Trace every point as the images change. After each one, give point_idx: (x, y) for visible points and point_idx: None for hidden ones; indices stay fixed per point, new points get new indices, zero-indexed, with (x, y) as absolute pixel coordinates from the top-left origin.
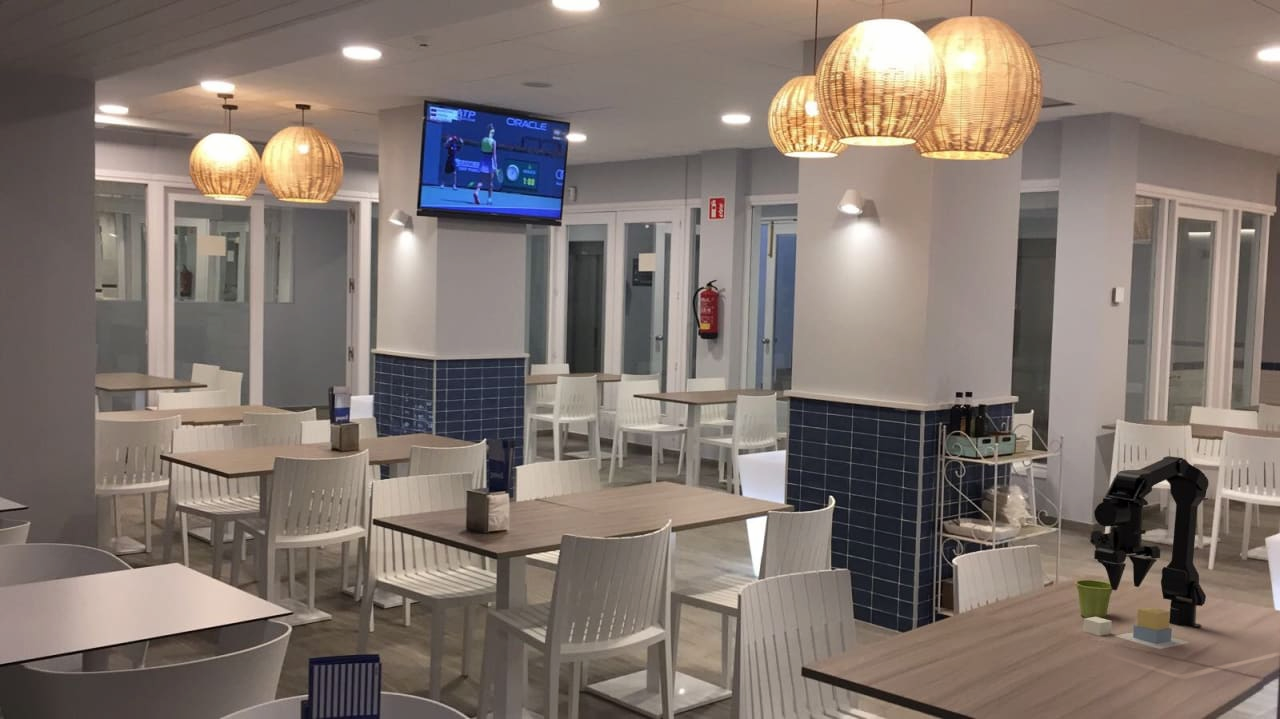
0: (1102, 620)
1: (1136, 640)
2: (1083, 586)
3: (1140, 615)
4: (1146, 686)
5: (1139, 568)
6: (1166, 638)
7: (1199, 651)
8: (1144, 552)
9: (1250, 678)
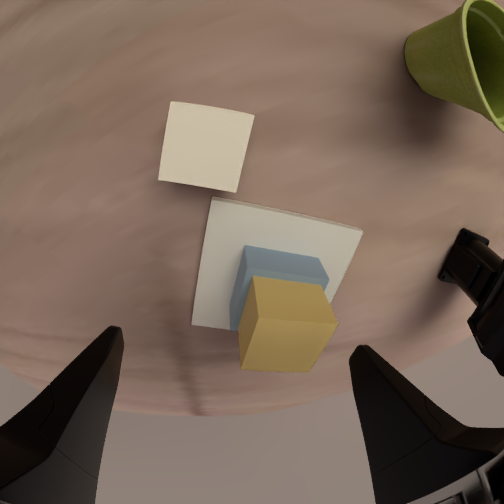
0: (210, 164)
1: (217, 264)
2: (461, 19)
3: (253, 309)
4: (18, 346)
5: (395, 447)
6: None
7: None
8: None
9: (183, 413)
